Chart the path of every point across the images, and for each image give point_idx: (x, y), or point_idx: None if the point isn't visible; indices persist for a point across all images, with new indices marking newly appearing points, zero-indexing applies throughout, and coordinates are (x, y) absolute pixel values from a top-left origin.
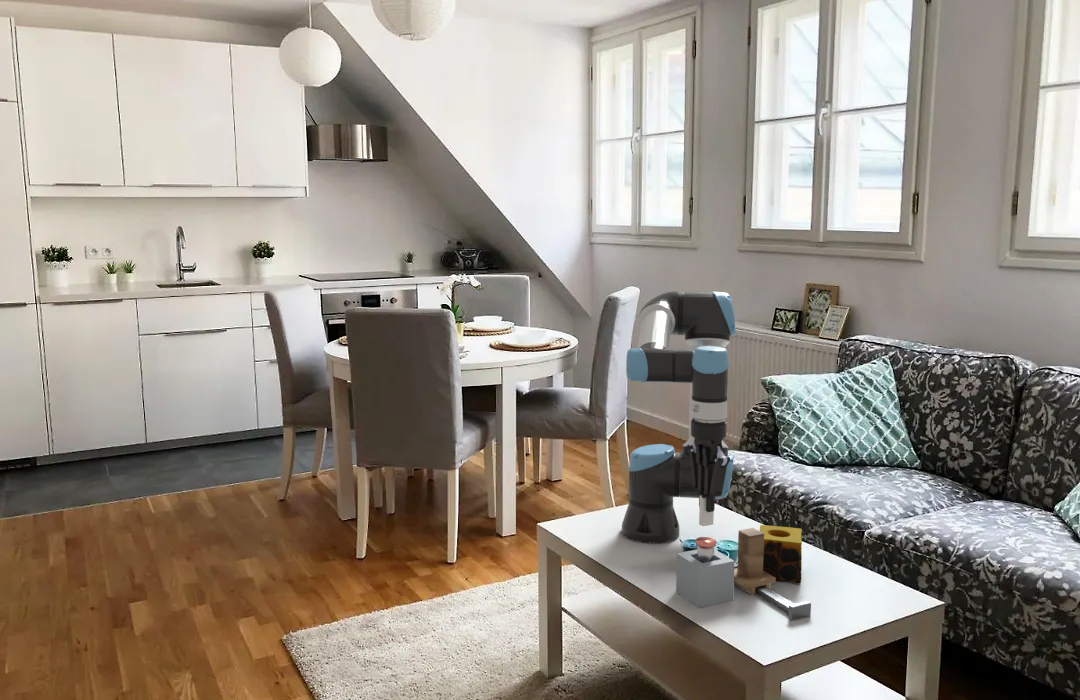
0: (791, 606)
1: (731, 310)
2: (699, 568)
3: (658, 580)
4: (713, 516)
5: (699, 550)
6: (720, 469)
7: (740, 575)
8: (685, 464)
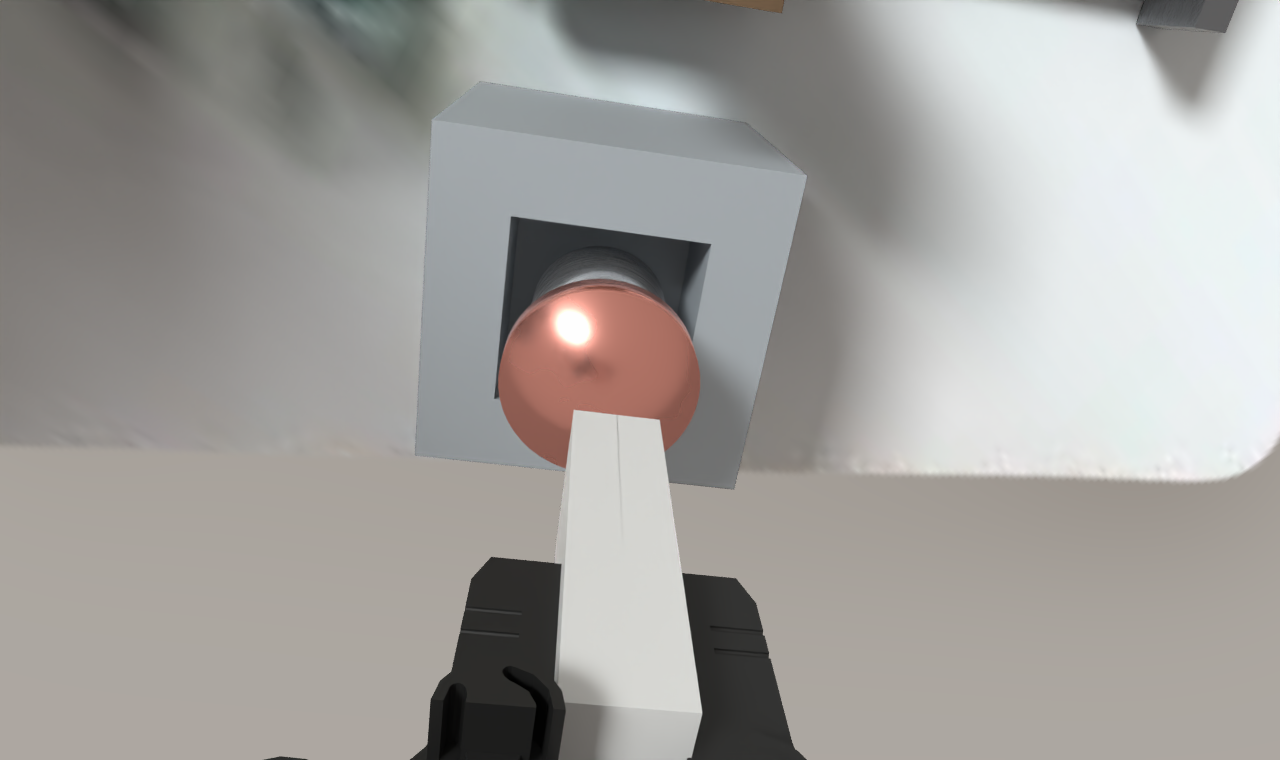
0: (1217, 28)
1: None
2: (728, 485)
3: (271, 319)
4: (665, 474)
5: None
6: None
7: None
8: None
